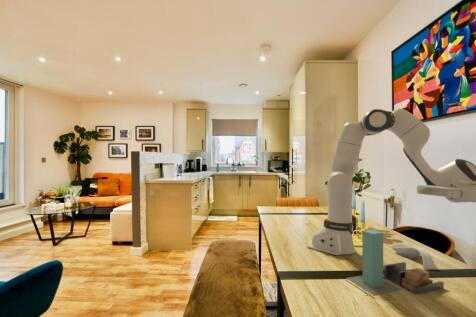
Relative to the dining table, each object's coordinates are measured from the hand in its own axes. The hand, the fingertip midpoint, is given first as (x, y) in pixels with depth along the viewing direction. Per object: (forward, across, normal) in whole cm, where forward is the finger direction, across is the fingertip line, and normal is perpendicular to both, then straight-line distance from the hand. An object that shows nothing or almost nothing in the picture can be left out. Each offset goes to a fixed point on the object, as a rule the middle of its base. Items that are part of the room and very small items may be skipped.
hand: (433, 192), depth 93 cm
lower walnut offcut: (+16, +5, +31) cm, 35 cm away
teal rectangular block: (+29, -1, +31) cm, 43 cm away
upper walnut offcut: (+16, +5, +28) cm, 33 cm away
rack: (+15, +2, +32) cm, 36 cm away
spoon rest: (-8, -14, +32) cm, 36 cm away
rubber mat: (+29, -1, +32) cm, 43 cm away
